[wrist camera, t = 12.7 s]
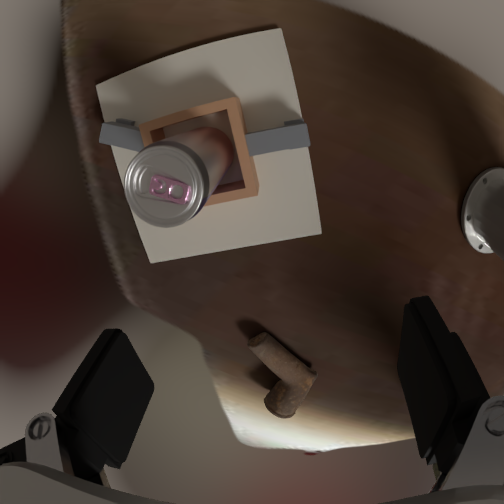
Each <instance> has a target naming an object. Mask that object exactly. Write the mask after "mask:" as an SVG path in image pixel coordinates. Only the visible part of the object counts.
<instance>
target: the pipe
mask: <svg viewBox="0 0 504 504" xmlns="http://www.w3.org/2000/svg"><path fill="white" fill-rule="evenodd" d="M247 345H248V347H249V348H250V349H251V350H252V351H253V353H254V354H255V355H256V356H257V357H258V358H259V359H260V360H261V361H262V362H263V363H264V364H265V365H266V366H267V367H268V368H269V369H270V370H271V371H272V372H273V373H275V374H276V375H277V376H278V377H279V378H280V379H281V380H279V381H278V382H277V383H276V384H275V386H274V387H273V388H272V390H271V391H270V392H269V393H268V394H267V395H266V397H265V398H264V403H265V406H266V408H267V409H268V410H269V411H270V412H271V413H272V414H273V415H275V416H277V417H279V418H290V417H292V416H293V415H294V414H295V411H296V410H297V408H298V407H299V406H300V404H301V403H302V402H303V400H304V398H305V397H306V395H307V393H308V391H309V390H310V387H311V386H312V384H313V382H314V381H315V379H316V378H317V372H316V371H314V370H312V369H311V368H309V367H307V366H306V365H305V364H304V363H303V362H301V361H300V360H299V359H298V358H296V357H295V356H294V355H293V354H291V353H290V352H289V351H288V350H286V349H285V348H284V347H283V346H282V345H281V344H280V343H279V342H277V341H276V340H275V339H274V338H273V337H272V336H271V335H269V334H268V333H266V332H262V333H261V334H259V335H257V336H256V337H254V338H251V339H250V340H249V341H248V344H247Z"/></svg>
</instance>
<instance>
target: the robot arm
mask: <svg viewBox="0 0 504 504" xmlns="http://www.w3.org/2000/svg"><path fill="white" fill-rule="evenodd" d="M461 226H462V230H463V234H464V236H465V239H466V240H467V242H468V243H469V244H470V245H471V246H472V247H473V248H474V249H475V250H477V251H478V252H482V253H493V252H495V253H496V254H497V255H498V256H499V257H500V258H501V259H502V260H503V261H504V168H501V167H492V168H489V169H487V170H485V171H483V172H482V173H480V174H479V175H478V176H477V177H476V178H475V180H474V181H473V182H472V184H471V185H470V187H469V189H468V191H467V193H466V196H465V198H464V201H463V206H462V212H461ZM397 369H398V375H399V378H400V381H401V385H402V388H403V392H404V395H405V399H406V402H407V406H408V410H409V413H410V417H411V421H412V425H413V429H414V433H415V437H416V441H417V445H418V450H419V454H420V457H421V458H426V461H427V465H430V464H433V463H437V466H438V470H439V471H440V472H441V473H440V475H439V476H438V478H437V480H436V482H435V483H434V485H433V487H432V488H431V490H430V492H429V493H428V494H424V495H419V496H414V497H409V498H404V499H400V500H395V501H390V502H385V503H379V504H504V396H495V397H492V398H490V396H489V394H488V392H487V390H486V388H485V386H484V384H483V382H482V380H481V377H480V375H479V373H478V371H477V369H476V367H475V365H474V364H473V362H472V360H471V358H470V356H469V354H468V352H467V350H466V348H465V347H464V345H463V343H462V341H461V339H460V338H459V336H458V335H457V333H455V332H451V333H450V332H449V330H448V328H447V326H446V324H445V323H444V321H443V319H442V317H441V316H440V314H439V312H438V310H437V309H436V307H435V305H434V304H433V302H432V300H431V299H430V297H429V296H422V297H416V298H411V299H410V302H409V304H406V305H405V306H404V316H403V325H402V334H401V342H400V350H399V357H398V364H397ZM153 392H154V383H153V381H152V380H151V378H150V376H149V374H148V372H147V371H146V369H145V367H144V366H143V364H142V362H141V360H140V359H139V357H138V355H137V353H136V352H135V350H134V348H133V346H132V344H131V342H130V341H129V339H128V337H127V335H126V334H125V333H123V332H122V330H120V329H105V330H104V331H103V332H102V334H101V335H100V336H99V338H98V339H97V341H96V342H95V344H94V345H93V347H92V348H91V349H90V351H89V352H88V354H87V355H86V357H85V359H84V360H83V362H82V363H81V365H80V366H79V367H78V369H77V371H76V372H75V374H74V375H73V377H72V378H71V380H70V382H69V383H68V385H67V386H66V388H65V389H64V391H63V393H62V394H61V396H60V397H59V399H58V401H57V402H56V404H55V406H54V407H53V409H52V411H53V412H54V413H55V414H56V415H57V416H56V418H54V417H53V416H52V415H51V414H49V413H41V414H38V415H36V416H34V417H33V418H32V419H31V420H30V421H29V423H28V424H27V427H26V430H25V437H24V438H22V439H21V440H18V441H16V442H14V443H12V444H10V445H8V446H5V447H3V448H2V449H0V504H174V503H169V502H163V501H158V500H154V499H149V498H144V497H141V496H137V495H132V494H129V493H125V492H121V491H118V490H114V489H111V487H110V485H109V482H108V479H107V476H106V474H105V471H104V468H103V467H104V464H107V465H108V466H110V467H114V468H118V469H120V467H121V464H122V463H123V462H125V460H126V458H127V456H128V453H129V451H130V448H131V446H132V443H133V441H134V438H135V436H136V433H137V431H138V428H139V426H140V423H141V421H142V418H143V416H144V414H145V411H146V409H147V406H148V404H149V401H150V399H151V397H152V394H153Z"/></svg>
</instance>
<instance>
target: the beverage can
mask: <svg viewBox="0 0 504 504" xmlns="http://www.w3.org/2000/svg"><path fill="white" fill-rule="evenodd" d="M233 158H234V150H233V145H232V143H231V141H230V139H229V138H228V136H227V135H226V134H225V133H223V132H222V131H221V130H219V129H216V128H213V127H200V128H196V129H193V130H190V131H187V132H184V133H181V134H178V135H175V136H172V137H169V138H166V139H163V140H160V141H157V142H155V143H152V144H150V145H148V146H146V147H145V148H143V149H142V150H141V151H140V152H139V153H138V154H137V155H136V156H135V157H134V158H133V159H132V161H131V162H130V164H129V165H128V167H127V170H126V173H125V177H124V192H125V196H126V199H127V202H128V204H129V206H130V207H131V209H132V210H133V212H134V213H135V214H136V215H137V216H138V217H139V218H141V219H142V220H143V221H145V222H147V223H149V224H151V225H153V226H157V227H164V228H169V227H175V226H178V225H181V224H183V223H185V222H186V221H188V220H190V219H192V218H193V217H194V216H196V215H197V214H198V213H199V212H200V211H201V209H202V208H203V206H204V205H205V203H206V202H207V200H208V199H209V197H210V196H211V195H212V193H213V192H214V190H215V189H216V187H217V186H218V184H219V183H220V181H221V180H222V178H223V177H224V175H225V174H226V173H227V171H228V170H229V168H230V167H231V165H232V162H233Z"/></svg>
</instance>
